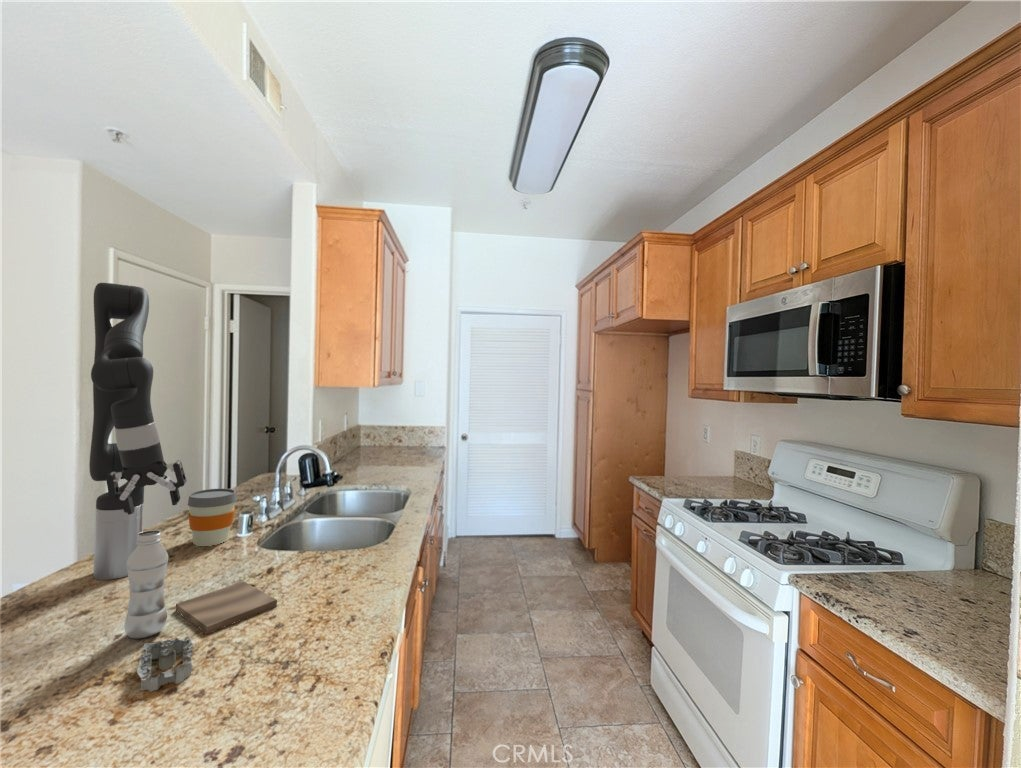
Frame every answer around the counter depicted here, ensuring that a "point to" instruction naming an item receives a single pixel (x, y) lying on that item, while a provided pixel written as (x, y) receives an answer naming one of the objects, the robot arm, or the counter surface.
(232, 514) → the reusable coffee cup
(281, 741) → the counter surface
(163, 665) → the metal cookie cutter
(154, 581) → the plastic bottle
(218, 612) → the walnut board
